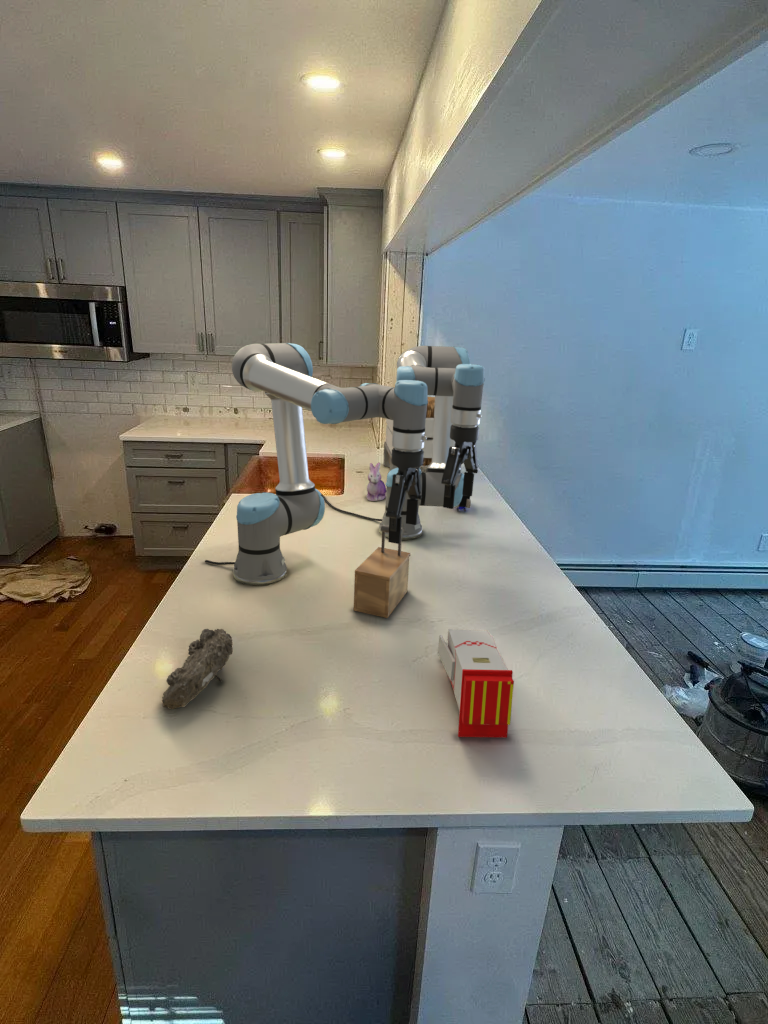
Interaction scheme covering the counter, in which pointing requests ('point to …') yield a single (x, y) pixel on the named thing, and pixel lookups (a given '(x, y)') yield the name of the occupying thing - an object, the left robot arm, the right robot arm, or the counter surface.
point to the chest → (380, 592)
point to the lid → (383, 560)
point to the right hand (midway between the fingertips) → (458, 501)
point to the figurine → (375, 484)
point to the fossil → (198, 667)
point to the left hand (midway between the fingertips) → (403, 532)
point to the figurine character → (464, 503)
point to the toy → (478, 682)
